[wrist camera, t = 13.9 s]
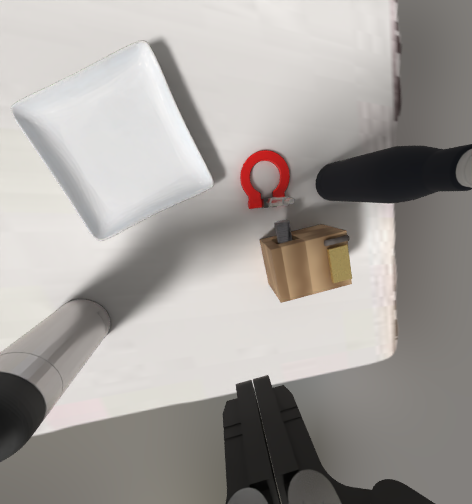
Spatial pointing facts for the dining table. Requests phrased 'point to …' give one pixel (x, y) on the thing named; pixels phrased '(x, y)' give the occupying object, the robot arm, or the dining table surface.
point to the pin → (283, 231)
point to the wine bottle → (397, 174)
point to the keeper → (339, 263)
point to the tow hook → (278, 193)
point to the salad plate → (115, 141)
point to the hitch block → (302, 261)
